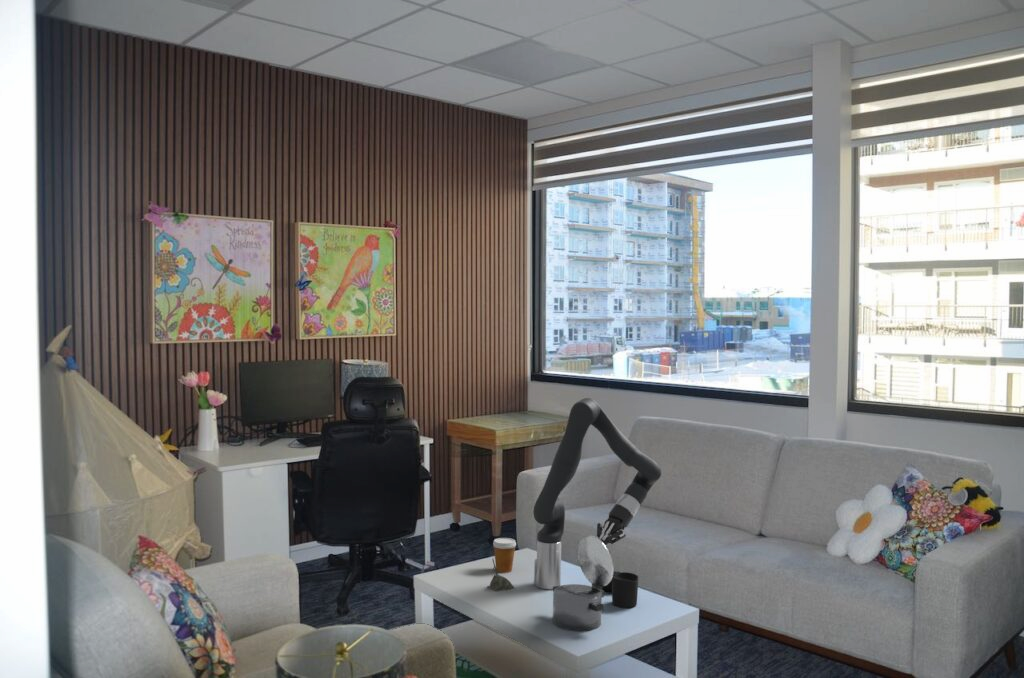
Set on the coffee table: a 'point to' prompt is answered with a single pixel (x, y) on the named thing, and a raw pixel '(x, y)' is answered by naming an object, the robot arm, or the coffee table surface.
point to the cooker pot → (577, 607)
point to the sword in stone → (499, 582)
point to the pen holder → (625, 590)
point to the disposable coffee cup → (504, 554)
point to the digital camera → (609, 587)
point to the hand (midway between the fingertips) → (597, 550)
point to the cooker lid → (595, 561)
